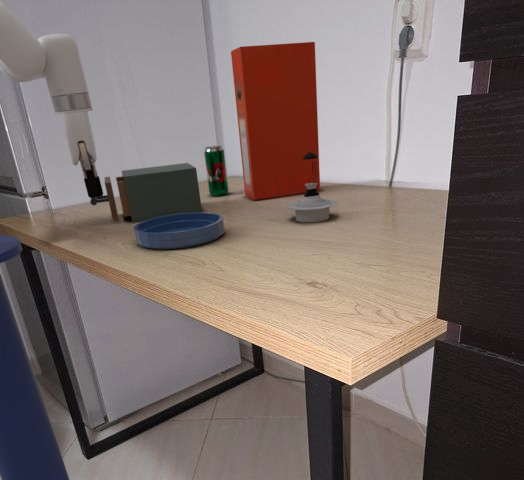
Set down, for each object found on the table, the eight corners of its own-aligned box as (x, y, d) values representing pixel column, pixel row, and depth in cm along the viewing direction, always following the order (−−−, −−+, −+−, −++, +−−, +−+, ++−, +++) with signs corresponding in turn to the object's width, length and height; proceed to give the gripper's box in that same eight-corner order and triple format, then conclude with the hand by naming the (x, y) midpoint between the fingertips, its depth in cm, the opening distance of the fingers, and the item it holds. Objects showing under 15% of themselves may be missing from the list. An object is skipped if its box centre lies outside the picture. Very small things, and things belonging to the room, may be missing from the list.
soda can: (232, 193, 133) (227, 144, 127) (222, 196, 129) (216, 147, 123) (216, 193, 135) (210, 145, 130) (206, 196, 131) (199, 148, 126)
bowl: (140, 256, 83) (136, 238, 82) (134, 235, 97) (131, 220, 96) (233, 241, 87) (231, 224, 85) (215, 223, 101) (213, 208, 100)
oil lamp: (296, 156, 86) (347, 149, 89) (274, 153, 95) (321, 147, 98) (300, 227, 92) (347, 218, 95) (279, 218, 100) (323, 210, 103)
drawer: (94, 222, 108) (85, 185, 104) (95, 213, 117) (87, 179, 114) (178, 211, 112) (172, 174, 108) (172, 203, 121) (167, 169, 118)
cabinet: (132, 222, 109) (123, 176, 105) (129, 212, 120) (121, 170, 116) (202, 212, 113) (196, 167, 108) (193, 203, 123) (187, 162, 119)
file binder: (245, 196, 127) (230, 50, 112) (307, 187, 131) (301, 46, 117) (254, 200, 120) (240, 46, 105) (320, 191, 124) (315, 41, 110)
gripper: (56, 107, 108) (80, 194, 117) (50, 107, 95) (77, 204, 104) (91, 103, 110) (112, 188, 118) (90, 102, 97) (113, 198, 105)
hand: (96, 196), depth 111 cm, fingers closed
